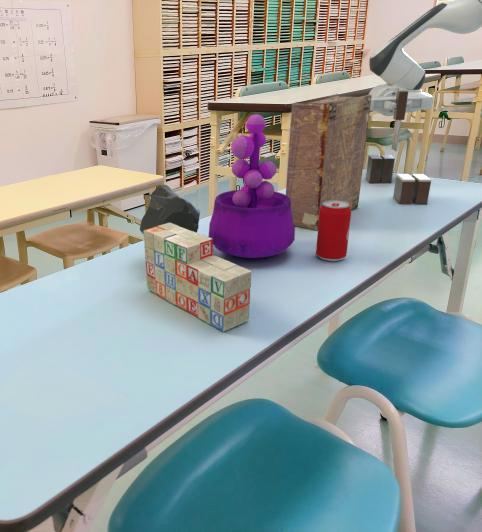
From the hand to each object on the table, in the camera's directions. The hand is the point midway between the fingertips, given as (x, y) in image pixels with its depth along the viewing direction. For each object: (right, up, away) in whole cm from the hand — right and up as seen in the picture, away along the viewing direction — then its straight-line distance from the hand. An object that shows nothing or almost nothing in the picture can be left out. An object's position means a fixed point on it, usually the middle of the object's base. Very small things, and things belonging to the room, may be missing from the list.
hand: (401, 105), depth 152 cm
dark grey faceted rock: (-71, -48, -42) cm, 95 cm away
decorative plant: (-52, -44, -35) cm, 77 cm away
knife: (+1, -12, +6) cm, 13 cm away
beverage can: (-36, -45, -40) cm, 71 cm away
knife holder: (+2, -19, +18) cm, 27 cm away
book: (-28, -34, -13) cm, 46 cm away
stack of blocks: (-67, -54, -58) cm, 104 cm away
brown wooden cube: (0, -28, -4) cm, 29 cm away
